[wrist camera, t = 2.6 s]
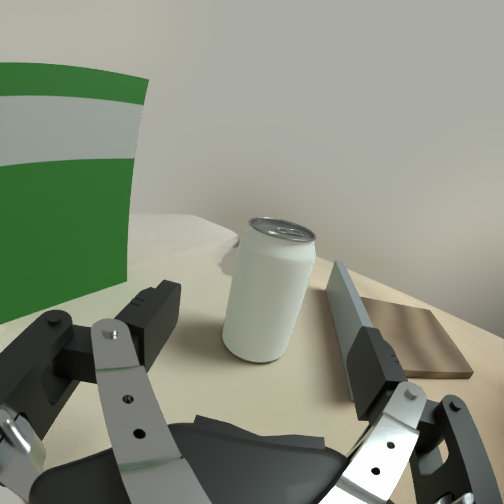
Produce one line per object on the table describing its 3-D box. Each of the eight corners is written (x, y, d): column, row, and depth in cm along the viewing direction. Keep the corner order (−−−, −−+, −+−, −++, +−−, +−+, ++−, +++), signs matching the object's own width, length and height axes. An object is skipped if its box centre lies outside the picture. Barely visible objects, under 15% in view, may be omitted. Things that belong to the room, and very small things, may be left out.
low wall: (332, 291, 42) (342, 261, 40) (362, 401, 21) (388, 361, 19) (325, 290, 42) (335, 260, 40) (351, 400, 21) (375, 360, 19)
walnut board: (427, 315, 39) (429, 310, 39) (469, 378, 24) (473, 372, 24) (343, 299, 40) (345, 293, 39) (367, 374, 25) (372, 366, 24)
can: (216, 323, 29) (236, 212, 25) (273, 324, 31) (301, 221, 27) (228, 366, 23) (255, 237, 19) (294, 363, 25) (335, 246, 21)
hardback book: (99, 259, 36) (116, 86, 28) (126, 281, 33) (149, 79, 24) (-11, 291, 21) (-12, 78, 13) (-1, 324, 18) (-8, 62, 10)
